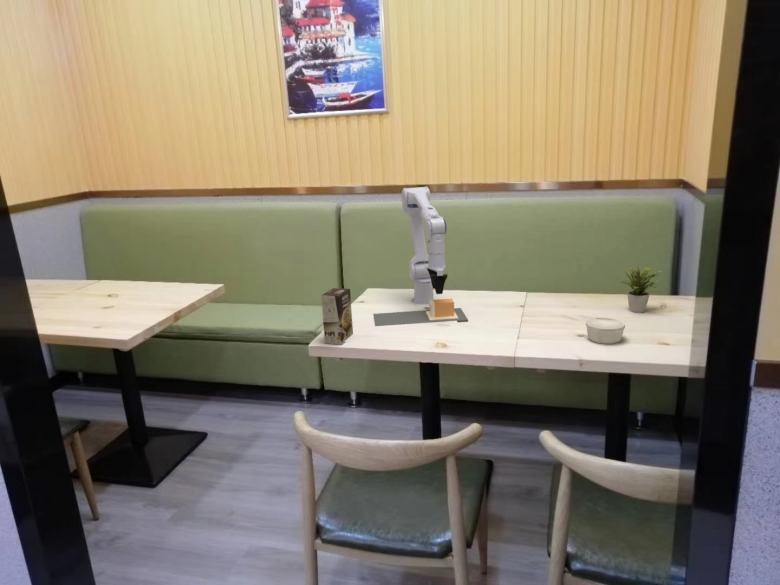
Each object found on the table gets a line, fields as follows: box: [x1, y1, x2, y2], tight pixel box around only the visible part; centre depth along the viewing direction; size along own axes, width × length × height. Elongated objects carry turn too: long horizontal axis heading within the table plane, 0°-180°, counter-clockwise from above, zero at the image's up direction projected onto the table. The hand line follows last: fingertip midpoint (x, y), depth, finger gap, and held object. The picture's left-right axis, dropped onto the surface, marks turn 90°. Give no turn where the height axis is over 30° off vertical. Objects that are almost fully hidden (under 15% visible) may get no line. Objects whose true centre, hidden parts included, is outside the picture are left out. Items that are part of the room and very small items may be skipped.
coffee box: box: [320, 287, 354, 346], centre depth 187 cm, size 9×6×16 cm
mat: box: [372, 307, 469, 327], centre depth 206 cm, size 14×32×1 cm, turn 94°
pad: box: [426, 311, 458, 321], centre depth 206 cm, size 10×10×1 cm
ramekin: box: [585, 317, 626, 345], centre depth 177 cm, size 11×11×5 cm
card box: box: [429, 298, 455, 317], centre depth 206 cm, size 8×5×5 cm, turn 94°
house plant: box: [619, 264, 662, 314], centre depth 199 cm, size 14×14×16 cm
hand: (437, 290), depth 205 cm, fingers open, 7 cm apart
